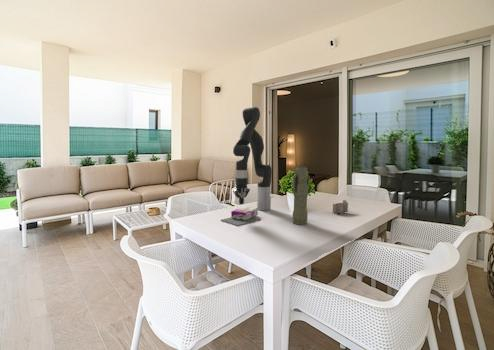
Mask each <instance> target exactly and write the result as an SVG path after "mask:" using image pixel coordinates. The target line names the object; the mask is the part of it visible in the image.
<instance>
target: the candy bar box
mask: <svg viewBox="0 0 494 350" xmlns="http://www.w3.org/2000/svg"><path fill="white" fill-rule="evenodd" d="M258 211H259V210H258V208H257V207H252V206H241V207H239V208H236V209H234V210H232V211H231V212H230V213H231V215H230V216H231V217H230V218H234V219H240V220H248V219H250V218H252V217H257V216H258V215H259V214H258V213H259V212H258Z"/></svg>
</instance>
